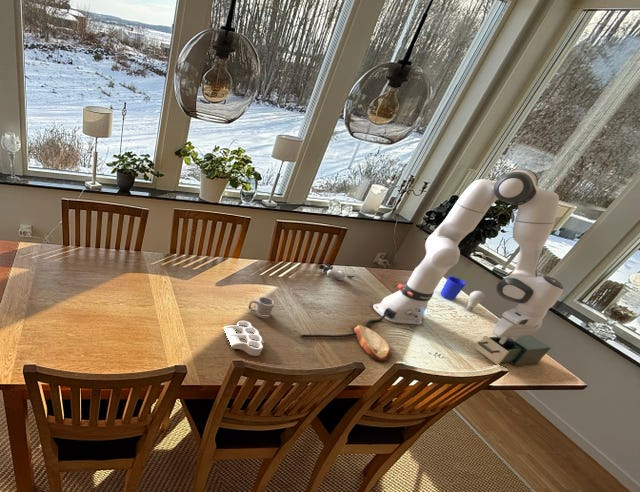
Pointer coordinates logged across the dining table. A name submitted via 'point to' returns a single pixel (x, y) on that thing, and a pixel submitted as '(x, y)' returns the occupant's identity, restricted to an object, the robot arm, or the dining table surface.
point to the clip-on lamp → (333, 272)
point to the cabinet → (530, 350)
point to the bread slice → (372, 343)
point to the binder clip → (507, 344)
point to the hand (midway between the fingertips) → (505, 343)
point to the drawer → (498, 350)
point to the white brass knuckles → (244, 337)
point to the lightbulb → (475, 299)
